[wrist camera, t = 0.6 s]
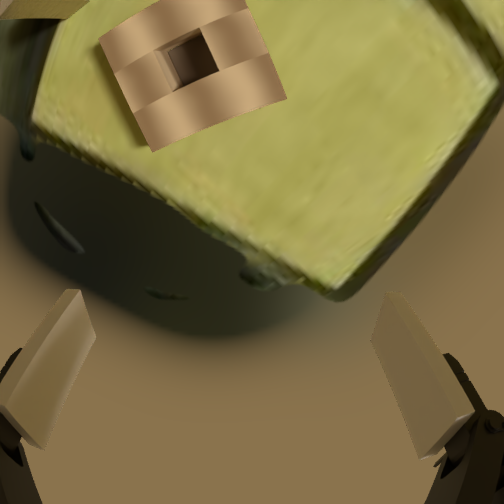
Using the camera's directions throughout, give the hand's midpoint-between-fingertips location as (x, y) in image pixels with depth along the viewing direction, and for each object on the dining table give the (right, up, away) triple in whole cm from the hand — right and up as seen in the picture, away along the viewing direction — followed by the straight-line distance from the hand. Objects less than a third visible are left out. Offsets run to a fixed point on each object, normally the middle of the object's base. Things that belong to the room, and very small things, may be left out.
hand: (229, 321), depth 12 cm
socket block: (-5, +22, +14) cm, 26 cm away
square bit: (-20, +32, +8) cm, 39 cm away
